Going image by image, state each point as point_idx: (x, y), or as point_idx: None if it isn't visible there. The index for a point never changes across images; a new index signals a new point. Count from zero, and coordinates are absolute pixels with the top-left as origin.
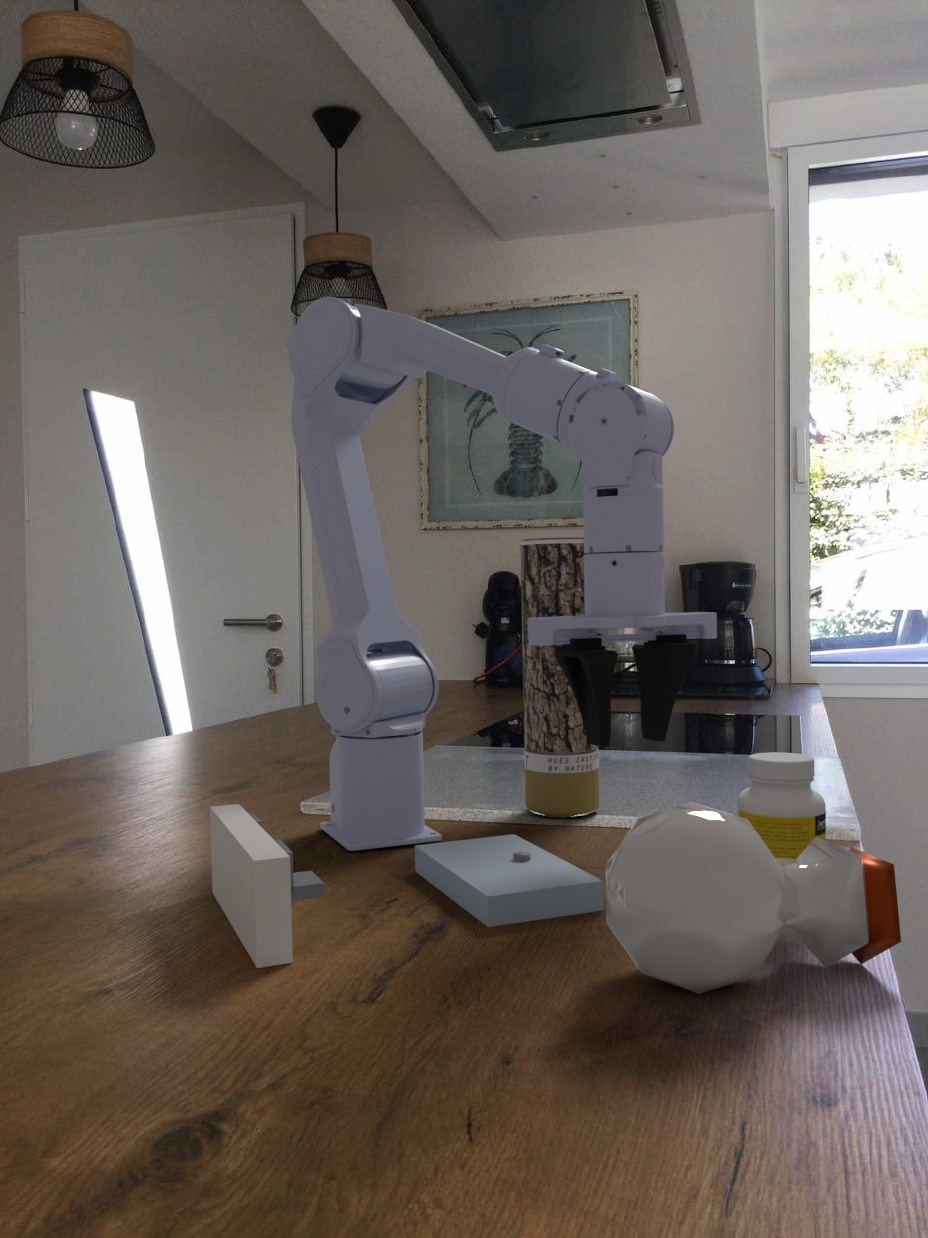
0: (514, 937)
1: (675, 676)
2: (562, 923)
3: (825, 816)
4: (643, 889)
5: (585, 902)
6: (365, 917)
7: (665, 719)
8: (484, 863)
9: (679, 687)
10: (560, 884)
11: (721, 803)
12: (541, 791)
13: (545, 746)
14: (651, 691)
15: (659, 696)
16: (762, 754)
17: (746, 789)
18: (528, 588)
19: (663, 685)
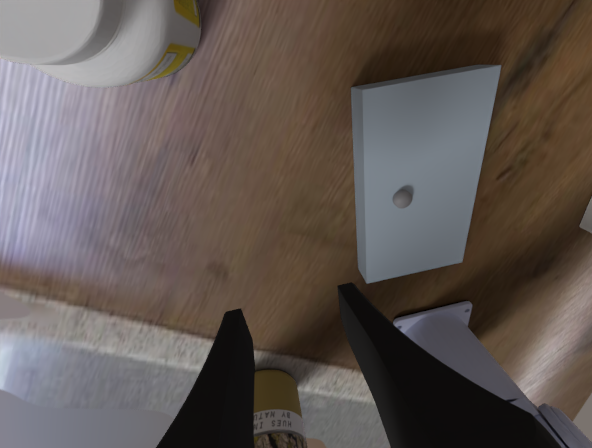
0: (473, 19)
1: (190, 436)
2: (408, 53)
3: None
4: None
5: (375, 84)
6: (547, 130)
7: (225, 339)
8: (439, 192)
9: (181, 409)
10: (411, 89)
11: (104, 404)
12: (292, 394)
13: (295, 441)
14: (242, 417)
15: (233, 390)
16: (48, 27)
17: (139, 27)
18: None
19: (226, 411)
